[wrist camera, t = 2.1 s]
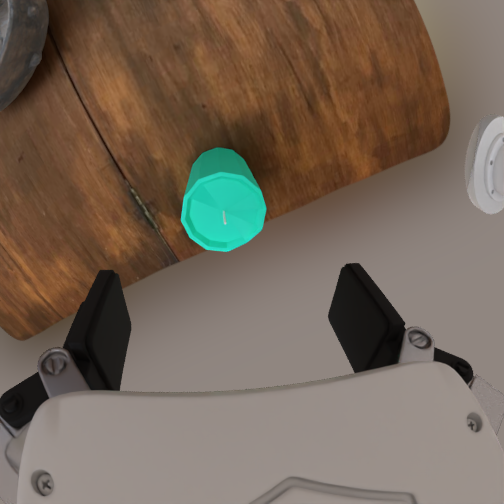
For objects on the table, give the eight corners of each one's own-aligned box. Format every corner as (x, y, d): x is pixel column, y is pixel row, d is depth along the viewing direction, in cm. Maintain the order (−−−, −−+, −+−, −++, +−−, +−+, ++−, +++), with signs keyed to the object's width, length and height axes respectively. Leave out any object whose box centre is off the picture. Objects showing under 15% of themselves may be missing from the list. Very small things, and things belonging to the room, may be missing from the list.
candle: (194, 205, 29) (186, 267, 19) (187, 150, 26) (171, 184, 16) (249, 199, 30) (271, 258, 20) (247, 144, 27) (270, 174, 17)
